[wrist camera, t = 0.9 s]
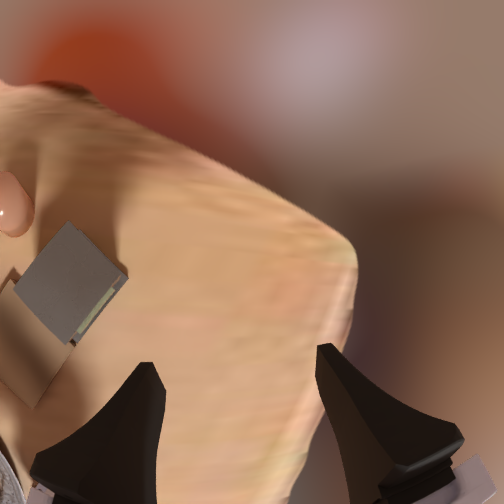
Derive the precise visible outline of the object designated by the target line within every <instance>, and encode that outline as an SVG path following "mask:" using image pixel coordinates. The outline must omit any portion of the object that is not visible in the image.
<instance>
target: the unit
mask: <svg viewBox="0 0 504 504" xmlns="http://www.w3.org/2000/svg"><path fill="white" fill-rule="evenodd" d="M128 279H129V278H128V277H127V276H126V275H125V274H124V273H123V272H122V271H120V270H119V269H118V268H117V267H116V266H115V265H114V264H113V263H112V262H111V261H110V260H109V259H108V258H107V257H106V256H105V255H104V254H103V253H102V252H101V251H100V250H99V249H98V248H97V247H96V246H95V245H94V244H93V243H92V241H91V240H90V239H89V238H88V237H87V236H86V235H85V234H84V233H83V232H82V231H81V230H80V229H79V230H77V229H76V227H75V226H74V225H73V224H72V223H71V222H70V221H69V220H68V221H67V222H66V223H65V225H64V226H63V227H62V228H61V229H60V230H59V231H58V232H57V233H56V235H55V236H54V237H53V238H52V239H51V240H50V241H49V243H48V244H47V245H46V246H45V247H44V249H43V250H42V251H41V252H40V253H39V255H38V256H37V257H36V258H35V260H34V261H33V262H32V263H31V265H30V266H29V267H28V269H27V270H26V271H25V273H24V274H23V275H22V277H21V278H20V279H19V281H18V282H17V284H16V285H15V286H14V288H13V290H14V292H15V293H16V294H17V295H18V296H19V298H20V299H21V300H22V301H23V302H24V303H25V305H26V306H27V307H28V308H29V309H30V310H31V311H32V312H33V313H34V315H35V316H36V317H37V318H38V319H39V320H40V321H41V322H42V323H43V324H44V325H45V326H46V327H47V328H48V329H49V330H50V331H51V332H52V333H53V334H54V335H55V336H56V337H57V338H58V339H59V340H60V341H61V342H62V343H63V344H64V345H66V344H67V343H68V342H69V341H70V340H71V339H73V340H74V341H75V342H77V343H78V342H79V341H80V340H81V338H82V337H83V335H84V334H85V333H86V331H87V330H88V329H89V328H90V326H91V325H92V324H93V322H94V321H95V320H96V318H97V317H98V316H99V315H100V313H101V312H102V311H103V309H104V308H105V307H106V306H107V304H108V303H109V302H110V301H111V299H112V298H113V297H114V296H115V295H116V293H117V292H118V291H119V290H120V288H121V287H122V286H123V285H124V284H125V282H126V281H127V280H128Z"/></svg>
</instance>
